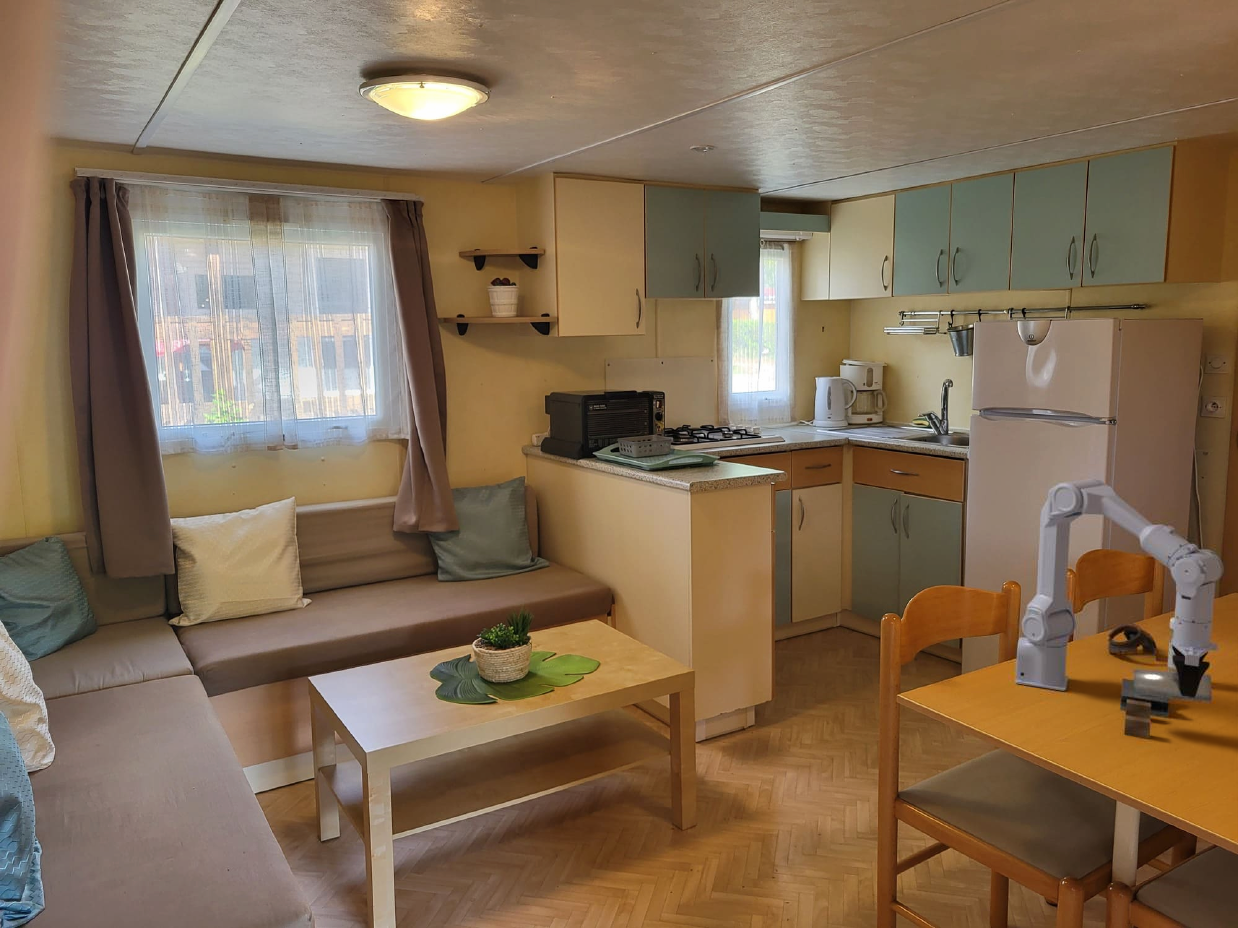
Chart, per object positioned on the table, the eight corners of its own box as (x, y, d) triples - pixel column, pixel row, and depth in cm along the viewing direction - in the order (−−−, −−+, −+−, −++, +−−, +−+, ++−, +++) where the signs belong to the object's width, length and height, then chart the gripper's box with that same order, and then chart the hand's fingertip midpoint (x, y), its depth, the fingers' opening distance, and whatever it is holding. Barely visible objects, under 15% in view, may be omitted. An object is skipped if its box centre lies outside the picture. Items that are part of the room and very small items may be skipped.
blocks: (1124, 734, 170) (1125, 718, 169) (1125, 713, 178) (1126, 699, 178) (1149, 738, 168) (1150, 723, 167) (1149, 717, 176) (1150, 702, 176)
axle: (1134, 699, 170) (1133, 674, 170) (1134, 689, 174) (1134, 665, 174) (1211, 706, 164) (1211, 680, 164) (1210, 696, 168) (1209, 670, 168)
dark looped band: (1165, 668, 201) (1149, 638, 200) (1119, 680, 206) (1103, 650, 204) (1157, 637, 211) (1142, 608, 210) (1114, 649, 216) (1099, 620, 215)
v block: (1120, 709, 180) (1121, 690, 179) (1121, 695, 187) (1122, 677, 186) (1168, 717, 176) (1169, 698, 175) (1167, 702, 183) (1169, 684, 182)
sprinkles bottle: (1195, 682, 192) (1200, 620, 190) (1184, 688, 189) (1189, 624, 187) (1172, 676, 196) (1177, 614, 193) (1161, 681, 193) (1165, 619, 191)
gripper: (1222, 634, 158) (1215, 709, 160) (1217, 609, 170) (1211, 680, 172) (1173, 627, 161) (1168, 701, 163) (1172, 604, 173) (1167, 673, 176)
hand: (1187, 690), depth 168 cm, fingers closed on axle, 5 cm apart
